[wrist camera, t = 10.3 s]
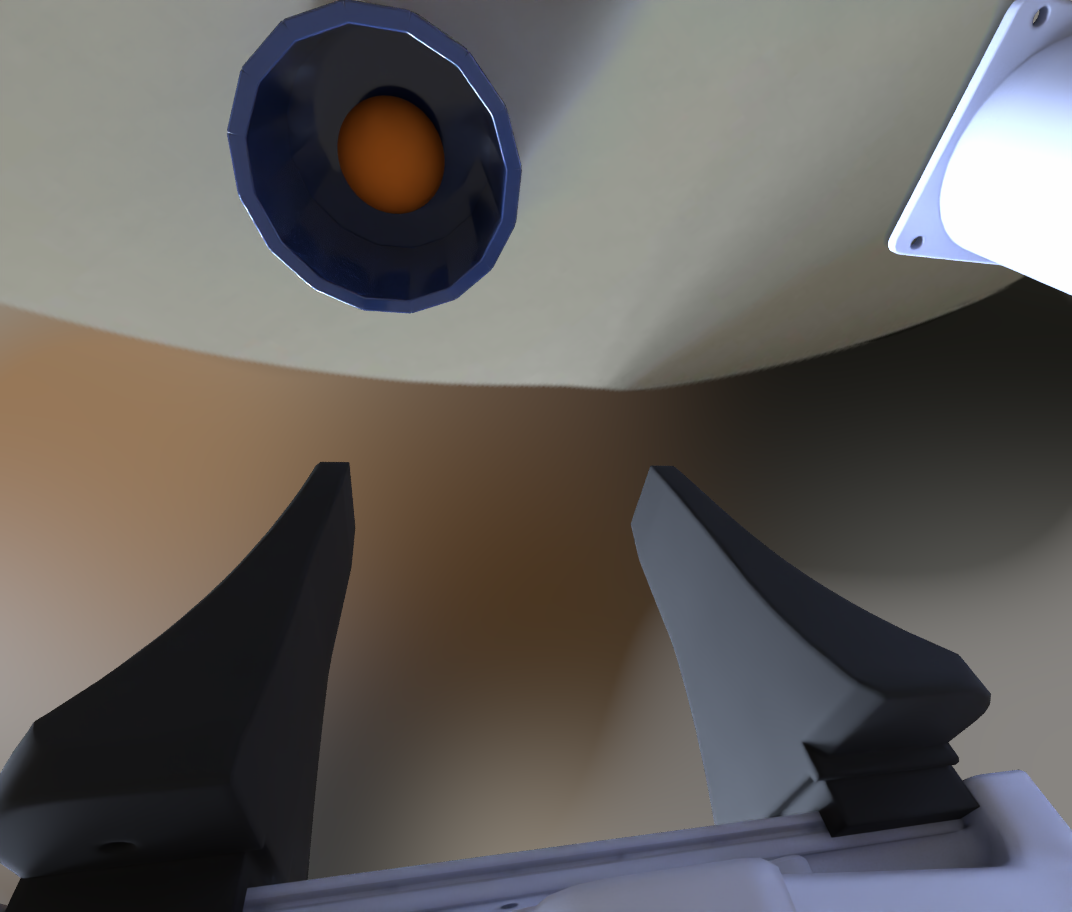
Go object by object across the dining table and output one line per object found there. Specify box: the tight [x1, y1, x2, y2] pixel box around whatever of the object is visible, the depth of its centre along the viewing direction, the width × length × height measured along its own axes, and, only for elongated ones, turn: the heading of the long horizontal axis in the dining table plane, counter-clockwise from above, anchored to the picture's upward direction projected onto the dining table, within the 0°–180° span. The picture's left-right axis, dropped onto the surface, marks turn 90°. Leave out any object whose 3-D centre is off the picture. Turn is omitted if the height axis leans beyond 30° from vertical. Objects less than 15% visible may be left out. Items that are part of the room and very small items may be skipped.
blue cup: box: [227, 0, 522, 313], centre depth 15 cm, size 7×7×5 cm
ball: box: [337, 95, 445, 214], centre depth 16 cm, size 3×3×3 cm
